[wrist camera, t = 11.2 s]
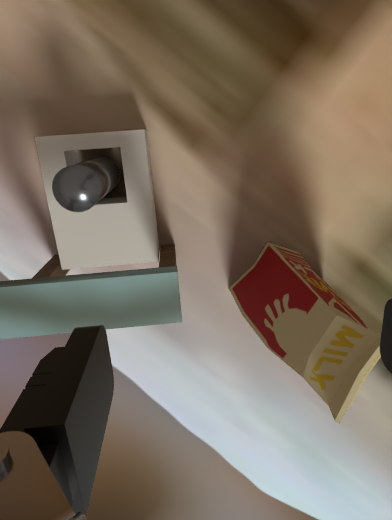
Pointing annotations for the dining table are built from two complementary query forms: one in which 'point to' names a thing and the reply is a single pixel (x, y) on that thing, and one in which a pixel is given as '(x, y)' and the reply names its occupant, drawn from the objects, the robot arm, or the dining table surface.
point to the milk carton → (307, 325)
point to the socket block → (103, 203)
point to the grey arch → (90, 299)
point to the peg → (85, 183)
